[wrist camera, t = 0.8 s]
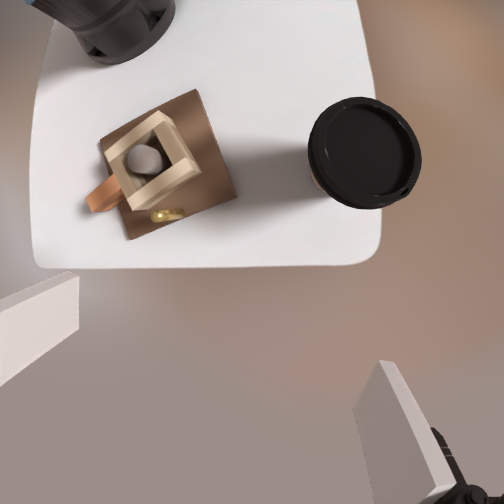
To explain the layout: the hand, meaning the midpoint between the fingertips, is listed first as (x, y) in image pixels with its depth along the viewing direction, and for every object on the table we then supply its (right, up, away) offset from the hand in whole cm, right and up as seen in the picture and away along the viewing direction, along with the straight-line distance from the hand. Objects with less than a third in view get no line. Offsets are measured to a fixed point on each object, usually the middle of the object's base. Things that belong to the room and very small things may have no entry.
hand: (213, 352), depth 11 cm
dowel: (-7, +8, +23) cm, 25 cm away
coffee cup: (+11, +13, +21) cm, 27 cm away
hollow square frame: (-12, +13, +22) cm, 28 cm away
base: (-9, +15, +23) cm, 29 cm away
